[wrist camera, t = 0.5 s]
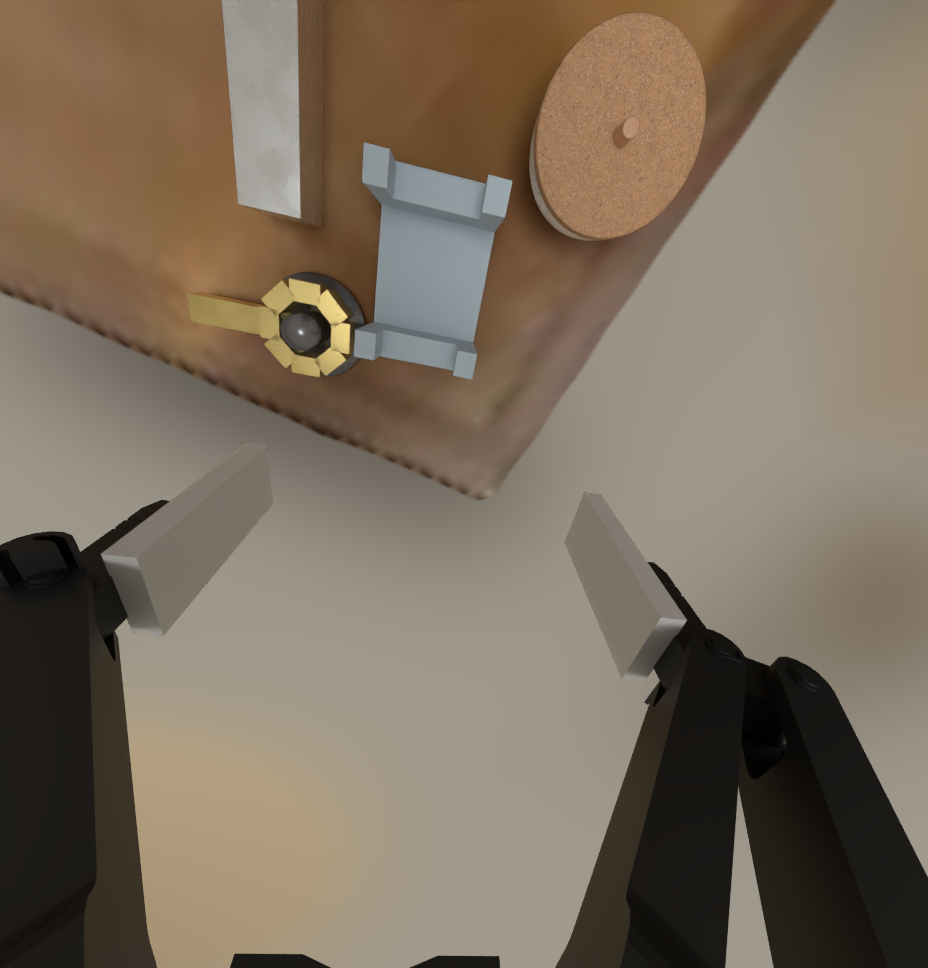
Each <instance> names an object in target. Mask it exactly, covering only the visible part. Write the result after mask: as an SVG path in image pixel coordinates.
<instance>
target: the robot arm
mask: <svg viewBox="0 0 928 968" xmlns="http://www.w3.org/2000/svg"><path fill="white" fill-rule="evenodd" d="M272 504H273V498H272V487H271V476H270V467H269V456H268V446H267V445H262V444H255V443H248V442H247V443H246V444H244V445H243V446H242V447H240V448H239V449H238V450H236V451H235V452H234V453H233V454H231V455H230V456H229V457H227V458H226V459H225V460H223V461H222V462H221V463H219V464H218V465H217V466H215V467H214V468H213V469H212V470H210V471H209V472H208V473H206V474H205V475H204V476H202V477H201V478H200V479H199V480H197V481H196V482H194V483H193V484H192V485H191V486H189V487H188V488H187V489H185V490H184V491H183V492H181V493H180V494H179V495H178V496H176V497H175V498H173V499H172V500H171V501H166V500H160V501H158V502H156V503H153V504H151V505H148V506H146V507H143V508H141V509H140V510H139V511H137V512H136V513H135V514H133V515H132V516H130V517H129V518H128V520H127V521H126V520H125V521H123V522H122V523H120V524H119V525H118V526H116V528H115V529H112V530H111V531H109V532H108V533H106V534H105V535H104V536H102V537H101V538H100V539H98V540H97V541H95V542H94V543H92V544H91V545H90V546H88V547H87V548H86V549H84V550H83V551H81V552H80V551H79V548H78V546H77V544H76V542H75V540H74V538H73V536H72V535H70V534H67V533H64V532H42V533H34V534H30V535H26V536H23V537H19V538H16V539H13V540H11V541H9V542H6V543H4V544H2V545H0V968H157V966H156V961H155V958H154V955H153V951H152V948H151V945H150V941H149V936H148V931H147V923H146V914H145V903H144V893H143V883H142V873H141V864H140V853H139V843H138V834H137V825H136V814H135V803H134V793H133V783H132V773H131V763H130V753H129V744H128V733H127V723H126V713H125V703H124V693H123V683H122V673H121V663H120V653H119V643H118V637H117V635H116V633H115V630H116V629H117V628H118V626H119V625H120V624H121V623H122V622H123V621H124V620H125V619H126V618H127V620H128V623H129V625H130V628H131V630H132V632H133V633H136V634H147V635H158V636H164V635H165V633H166V632H167V631H168V630H169V629H170V627H171V626H172V625H173V624H174V623H175V621H176V620H177V619H178V618H179V617H180V615H181V614H182V613H183V612H184V610H185V609H186V608H187V607H188V606H189V604H190V603H191V602H192V601H193V600H194V599H195V597H196V596H197V595H198V594H199V592H200V591H201V590H202V589H203V588H204V586H205V585H206V584H207V583H208V582H209V580H210V579H211V578H212V577H213V576H214V574H215V573H216V572H217V571H218V569H219V568H220V567H221V566H222V565H223V564H224V562H225V561H226V560H227V559H228V557H229V556H230V555H231V554H232V553H233V551H234V550H235V549H236V548H237V547H238V545H239V544H240V543H241V542H242V541H243V539H244V538H245V537H246V536H247V535H248V533H249V532H250V531H251V530H252V528H253V527H254V526H255V525H256V524H257V523H258V521H259V520H260V519H261V518H262V517H263V515H264V514H265V513H266V512H267V511H268V509H269V508H270V507H271V506H272ZM565 544H566V547H567V549H568V552H569V554H570V556H571V558H572V561H573V563H574V566H575V568H576V571H577V573H578V575H579V578H580V580H581V583H582V585H583V587H584V590H585V592H586V595H587V597H588V599H589V602H590V604H591V607H592V609H593V611H594V614H595V616H596V618H597V621H598V623H599V626H600V628H601V630H602V633H603V635H604V638H605V640H606V643H607V645H608V647H609V649H610V652H611V655H612V657H613V659H614V662H615V664H616V666H617V669H618V671H619V673H620V676H621V678H622V679H628V680H639V681H645V680H646V679H647V677H648V676H649V675H650V673H651V672H652V670H653V669H654V670H655V672H656V674H657V676H658V678H659V680H660V681H659V683H658V684H657V685H656V687H655V688H654V690H653V691H652V692H651V694H650V695H649V696H648V698H647V699H646V701H645V703H646V704H649V703H650V704H649V707H648V710H647V713H646V715H645V718H644V721H643V724H642V727H641V730H640V734H639V736H638V739H637V742H636V746H635V748H634V752H633V754H632V757H631V761H630V763H629V766H628V769H627V772H626V775H625V778H624V781H623V784H622V787H621V790H620V793H619V796H618V799H617V802H616V805H615V808H614V811H613V814H612V817H611V820H610V823H609V826H608V828H607V831H606V835H605V837H604V841H603V843H602V846H601V850H600V852H599V856H598V858H597V861H596V864H595V867H594V870H593V874H592V876H591V879H590V882H589V885H588V888H587V891H586V894H585V897H584V900H583V903H582V906H581V909H580V912H579V915H578V918H577V921H576V924H575V927H574V930H573V932H572V935H571V938H570V940H569V942H568V945H567V947H566V949H565V951H564V953H563V954H562V956H561V958H560V960H559V961H558V963H557V966H556V968H725V962H726V948H727V934H728V920H729V905H730V892H731V878H732V863H733V849H734V837H735V836H734V835H735V823H736V809H737V794H738V787H739V792H740V797H741V802H742V807H743V812H744V817H745V823H746V827H747V833H748V838H749V843H750V848H751V853H752V859H753V864H754V869H755V874H756V879H757V884H758V889H759V894H760V899H761V905H762V910H763V915H764V920H765V925H766V930H767V936H768V941H769V945H770V951H771V956H772V961H773V966H774V968H928V877H927V875H926V873H925V871H924V869H923V867H922V865H921V863H920V861H919V859H918V857H917V855H916V853H915V851H914V849H913V847H912V845H911V843H910V841H909V839H908V837H907V835H906V833H905V831H904V829H903V827H902V825H901V823H900V822H899V819H898V817H897V815H896V813H895V812H894V810H893V808H892V805H891V803H890V801H889V799H888V798H887V795H886V794H885V792H884V790H883V788H882V786H881V784H880V782H879V780H878V778H877V776H876V774H875V772H874V770H873V768H872V766H871V764H870V762H869V760H868V758H867V756H866V754H865V752H864V750H863V748H862V746H861V744H860V742H859V740H858V738H857V736H856V734H855V732H854V730H853V728H852V726H851V724H850V722H849V720H848V718H847V716H846V714H845V712H844V710H843V708H842V706H841V704H840V702H839V700H838V698H837V696H836V694H835V692H834V691H833V689H832V688H831V686H830V685H829V683H827V682H826V680H825V679H823V678H822V677H821V676H820V674H819V673H817V672H816V671H815V670H813V669H812V668H811V667H809V666H807V665H806V664H803V663H801V662H799V661H797V660H795V659H792V658H789V657H779V658H778V659H777V660H776V661H775V662H774V663H773V664H772V665H771V666H768V665H765V664H762V663H760V662H757V661H754V660H751V659H748V658H746V657H745V656H744V655H743V653H742V652H741V650H740V649H739V648H738V647H737V646H736V645H735V644H734V643H733V642H732V641H731V640H729V639H728V638H726V637H725V636H723V635H722V634H720V633H717V632H715V631H713V630H709V629H706V627H705V626H704V624H703V623H702V622H701V620H700V619H699V618H698V616H697V615H696V614H695V612H694V611H693V609H692V608H691V606H690V605H689V604H688V602H687V601H686V600H685V598H684V597H683V596H681V593H680V591H679V590H678V588H677V587H675V585H674V583H673V582H672V580H671V579H670V577H669V576H668V575H667V573H666V572H664V571H663V570H662V569H661V568H660V567H659V566H657V565H656V564H655V563H652V562H647V561H646V559H645V558H644V557H643V555H642V554H641V552H640V551H639V549H638V548H637V546H636V545H635V543H634V542H633V541H632V539H631V538H630V536H629V535H628V533H627V532H626V530H625V529H624V527H623V526H622V524H621V523H620V521H619V520H618V519H617V517H616V516H615V514H614V513H613V511H612V510H611V509H610V507H609V505H608V504H607V502H606V501H605V500H604V498H603V497H602V495H600V494H593V493H586V492H584V494H583V497H582V500H581V502H580V505H579V507H578V510H577V512H576V515H575V517H574V520H573V523H572V525H571V528H570V530H569V532H568V535H567V538H566V540H565ZM499 962H500V961H499V956H436V957H434V958H432V959H429V960H427V961H425V962H422V963H420V964H418V965H415V966H413V967H410V968H500V963H499ZM230 968H330V967H328V966H326V965H324V964H322V963H320V962H318V961H316V960H314V959H312V958H310V957H307V956H305V955H303V954H234V957H233V961H232V963H231V966H230Z"/></svg>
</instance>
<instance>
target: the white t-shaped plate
mask: <svg viewBox="0 0 928 968" xmlns="http://www.w3.org/2000/svg"><path fill="white" fill-rule="evenodd" d="M222 8H223V20H224V33H225V45H226V58H227V70H228V82H229V95H230V107H231V120H232V132H233V144H234V157H235V169H236V182H237V194H238V204H240V205H242V206H245V207H248V208H250V209H253V210H255V211H258V212H261V213H263V214H266V215H268V216H272V217H276V218H281V219H285V220H289V221H293V222H298V223H302V224H306V225H310V226H315V227H319V228H322V188H323V71H324V0H222Z"/></svg>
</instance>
